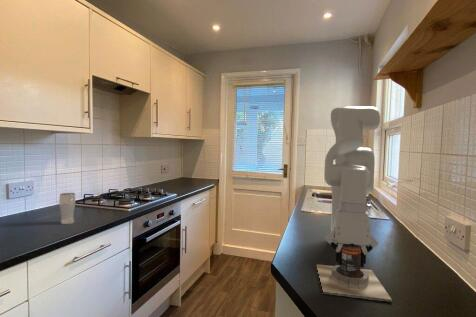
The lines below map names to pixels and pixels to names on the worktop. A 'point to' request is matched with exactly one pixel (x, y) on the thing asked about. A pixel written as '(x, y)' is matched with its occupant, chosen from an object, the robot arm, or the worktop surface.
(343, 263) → the supplement bottle
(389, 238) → the worktop surface
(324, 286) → the collar board
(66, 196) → the beer glass
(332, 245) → the robot arm
